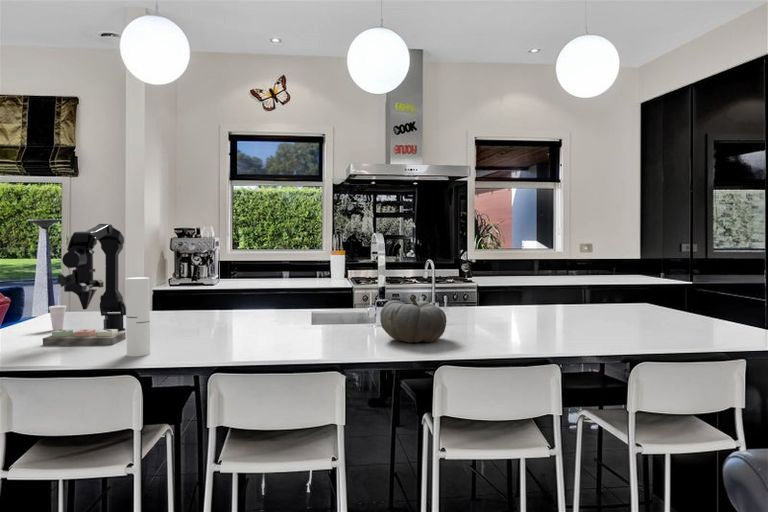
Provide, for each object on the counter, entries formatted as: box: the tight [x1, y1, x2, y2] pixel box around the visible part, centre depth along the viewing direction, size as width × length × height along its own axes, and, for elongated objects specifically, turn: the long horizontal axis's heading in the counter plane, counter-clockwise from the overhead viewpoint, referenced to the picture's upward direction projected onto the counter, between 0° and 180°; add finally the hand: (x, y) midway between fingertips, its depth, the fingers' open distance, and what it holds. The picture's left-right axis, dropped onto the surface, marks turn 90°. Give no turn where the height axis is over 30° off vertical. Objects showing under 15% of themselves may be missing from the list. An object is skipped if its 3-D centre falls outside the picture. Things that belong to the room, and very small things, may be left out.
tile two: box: [51, 329, 74, 337], centre depth 210 cm, size 5×5×3 cm
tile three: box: [97, 328, 119, 336], centre depth 211 cm, size 5×5×3 cm
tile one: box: [74, 328, 96, 337], centre depth 210 cm, size 5×5×3 cm
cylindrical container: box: [125, 276, 151, 358], centre depth 189 cm, size 7×7×25 cm
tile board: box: [42, 331, 127, 347], centre depth 210 cm, size 24×12×2 cm, turn 94°
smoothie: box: [48, 295, 67, 332], centre depth 237 cm, size 6×6×14 cm
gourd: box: [379, 295, 447, 343], centre depth 216 cm, size 25×25×17 cm
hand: (85, 309), depth 210 cm, fingers closed
